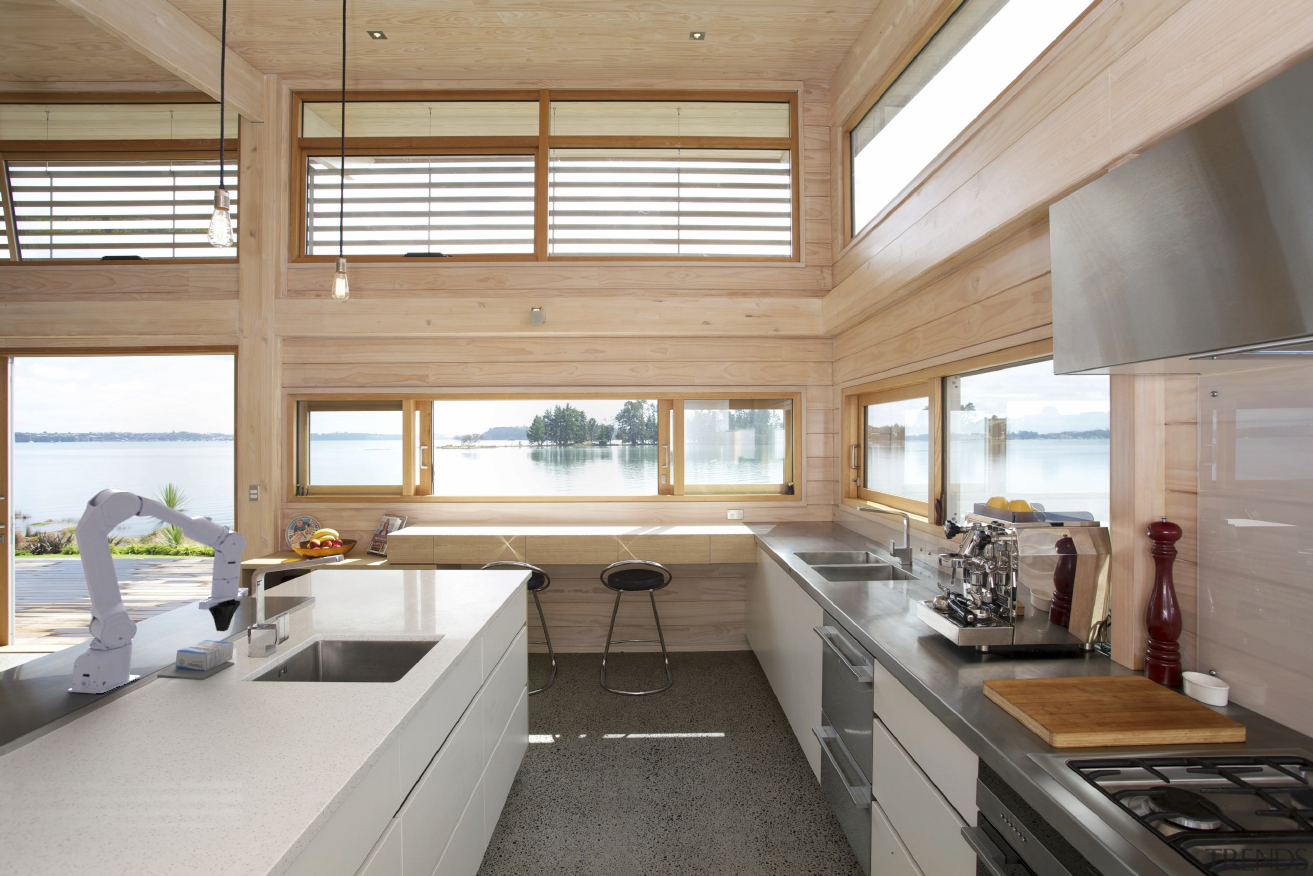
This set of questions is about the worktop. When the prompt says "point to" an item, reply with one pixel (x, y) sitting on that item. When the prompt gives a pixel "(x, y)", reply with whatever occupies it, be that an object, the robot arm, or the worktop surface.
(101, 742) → the worktop surface
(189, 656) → the medicine box
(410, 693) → the worktop surface
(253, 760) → the worktop surface
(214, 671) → the grey rubber pad
